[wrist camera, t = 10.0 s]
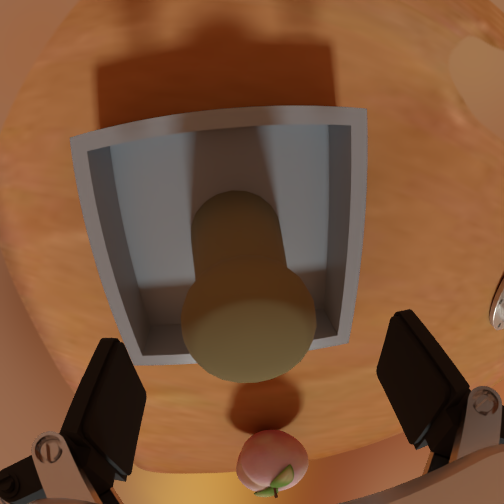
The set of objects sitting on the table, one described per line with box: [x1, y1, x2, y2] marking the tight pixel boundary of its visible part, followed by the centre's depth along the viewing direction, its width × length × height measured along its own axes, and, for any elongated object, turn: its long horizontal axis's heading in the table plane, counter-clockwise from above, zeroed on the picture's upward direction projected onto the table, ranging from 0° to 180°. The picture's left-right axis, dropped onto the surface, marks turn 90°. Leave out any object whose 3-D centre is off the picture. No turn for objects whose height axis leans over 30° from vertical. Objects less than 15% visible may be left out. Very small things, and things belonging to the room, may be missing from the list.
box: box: [70, 106, 367, 365], centre depth 18 cm, size 16×16×4 cm
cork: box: [181, 190, 317, 383], centre depth 14 cm, size 6×6×11 cm
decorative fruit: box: [236, 430, 308, 498], centre depth 27 cm, size 9×8×10 cm
